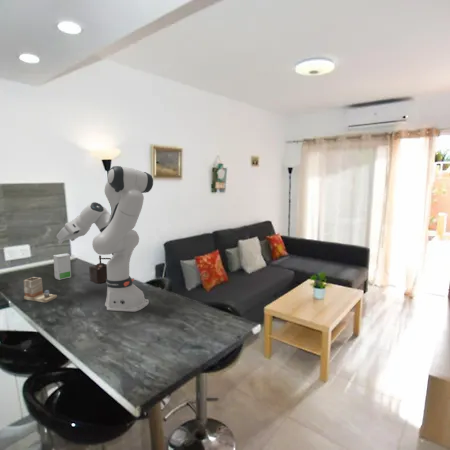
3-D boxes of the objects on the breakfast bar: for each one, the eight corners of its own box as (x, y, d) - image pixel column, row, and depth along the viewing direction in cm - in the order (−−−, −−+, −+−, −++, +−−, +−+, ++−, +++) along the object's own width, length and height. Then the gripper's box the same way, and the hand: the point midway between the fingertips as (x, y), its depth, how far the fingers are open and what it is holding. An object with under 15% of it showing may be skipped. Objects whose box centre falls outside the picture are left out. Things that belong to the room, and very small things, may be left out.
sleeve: (43, 293, 165) (41, 278, 163) (33, 297, 159) (31, 281, 158) (34, 292, 166) (33, 276, 165) (24, 296, 161) (23, 280, 159)
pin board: (56, 297, 163) (56, 288, 162) (46, 302, 156) (45, 293, 156) (35, 294, 167) (34, 285, 166) (24, 299, 160) (23, 289, 160)
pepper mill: (98, 284, 185) (97, 256, 182) (89, 280, 191) (87, 253, 189) (120, 278, 197) (119, 251, 194) (111, 274, 204) (110, 249, 201)
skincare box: (58, 280, 191) (57, 256, 188) (54, 278, 194) (52, 255, 192) (71, 277, 197) (70, 254, 195) (67, 275, 201) (65, 252, 199)
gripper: (88, 219, 174) (75, 234, 177) (63, 223, 154) (48, 240, 158) (95, 227, 174) (81, 242, 177) (71, 232, 154) (55, 249, 157)
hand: (65, 241), depth 167 cm, fingers open, 8 cm apart
